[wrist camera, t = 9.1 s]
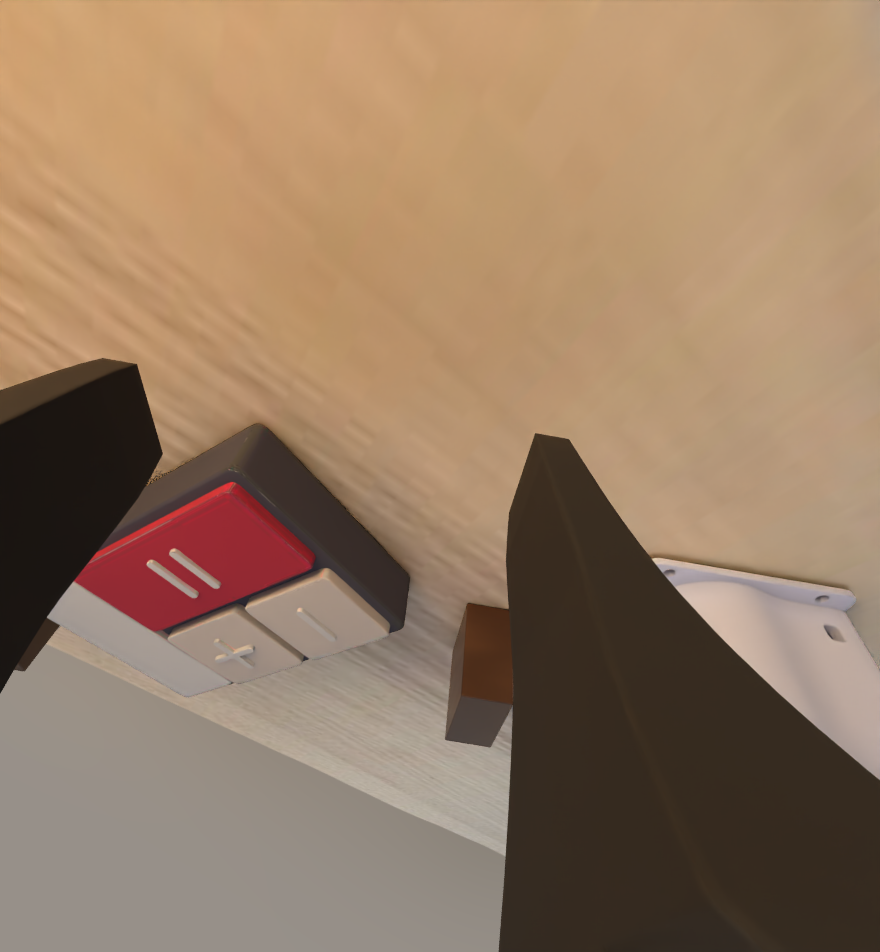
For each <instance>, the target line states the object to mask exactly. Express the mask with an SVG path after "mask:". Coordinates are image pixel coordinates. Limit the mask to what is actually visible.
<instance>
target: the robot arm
mask: <svg viewBox="0 0 880 952" xmlns="http://www.w3.org/2000/svg"><path fill="white" fill-rule="evenodd" d="M162 454H163V453H162V449H161V446H160V442H159V439H158V435H157V432H156V429H155V425H154V422H153V418H152V415H151V411H150V408H149V404H148V401H147V397H146V394H145V391H144V387H143V384H142V380H141V377H140V373H139V370H138V366H137V364H133V363H127V362H121V361H115V360H110V359H104V358H102V359H98V360H94V361H89V362H86V363H82V364H78V365H75V366H72V367H68V368H65V369H62V370H59V371H56V372H53V373H50V374H47V375H44V376H41V377H38V378H35V379H32V380H29V381H26V382H23V383H20V384H17V385H15V386H12V387H9V388H6V389H3V390H0V693H1V691H2V690H3V688H4V686H5V684H6V683H7V681H8V679H9V677H10V676H11V674H12V672H13V670H14V669H15V667H16V666H17V664H18V662H19V661H20V659H21V658H22V656H23V654H24V653H25V651H26V650H27V648H28V646H29V645H30V643H31V642H32V640H33V638H34V637H35V635H36V634H37V632H38V630H39V629H40V627H41V626H42V624H43V622H44V621H45V619H46V618H47V616H48V615H49V614H50V612H51V611H52V609H53V608H54V607H55V605H56V604H57V603H58V601H59V600H60V598H61V597H62V596H63V594H64V593H65V592H66V590H67V589H68V588H69V587H70V585H71V584H72V583H73V582H74V580H75V579H76V578H77V576H78V575H79V574H80V573H81V571H82V570H83V569H84V568H85V566H86V565H87V564H88V562H89V561H90V560H91V559H92V557H93V556H94V555H95V554H96V552H97V551H98V550H99V548H100V547H101V546H102V545H103V543H104V542H105V541H106V540H107V538H108V537H109V536H110V534H111V533H112V532H113V531H114V529H115V528H116V527H117V525H118V524H119V523H120V521H121V520H122V519H123V518H124V516H125V515H126V514H127V512H128V511H129V510H130V508H131V507H132V506H133V504H134V503H135V502H136V500H137V499H138V498H139V496H140V494H141V492H142V491H143V489H144V487H145V486H146V484H147V482H148V481H149V479H150V477H151V475H152V473H153V471H154V469H155V467H156V466H157V464H158V462H159V460H160V458H161V456H162ZM506 567H507V585H508V602H509V618H510V633H511V649H512V665H513V721H512V750H511V771H510V792H509V812H508V828H507V844H506V860H505V876H504V877H505V878H504V890H503V903H502V916H501V929H500V941H499V952H880V669H879V668H878V666H877V664H876V663H875V661H874V659H873V658H872V656H871V654H870V653H869V651H868V649H867V648H866V646H865V644H864V643H863V641H862V639H861V638H860V636H859V634H858V633H857V631H856V629H855V628H854V626H853V624H852V623H851V621H850V619H849V618H848V616H847V614H846V613H845V611H846V610H847V609H849V608H850V607H851V606H852V605H853V604H854V603H855V602H856V597H855V596H854V594H853V593H852V592H851V591H850V590H846V589H840V588H834V587H829V586H823V585H817V584H811V583H805V582H799V581H793V580H787V579H782V578H776V577H770V576H764V575H758V574H752V573H746V572H740V571H734V570H729V569H723V568H717V567H711V566H705V565H699V564H693V563H687V562H682V561H676V560H670V559H664V558H653V559H651V557H650V556H649V555H648V554H647V552H646V551H645V550H644V549H643V547H642V546H641V545H640V544H639V542H638V541H637V540H636V538H635V537H634V536H633V534H632V533H631V532H630V530H629V529H628V528H627V526H626V525H625V523H624V522H623V521H622V519H621V518H620V516H619V515H618V513H617V512H616V511H615V509H614V508H613V506H612V505H611V503H610V502H609V501H608V499H607V498H606V496H605V495H604V493H603V492H602V490H601V489H600V487H599V485H598V484H597V482H596V481H595V479H594V478H593V476H592V475H591V473H590V472H589V470H588V468H587V467H586V465H585V464H584V462H583V461H582V459H581V458H580V456H579V454H578V453H577V451H576V450H575V448H574V447H573V445H572V443H571V442H570V440H569V439H565V438H559V437H554V436H548V435H542V434H536V433H535V436H534V439H533V442H532V445H531V448H530V451H529V454H528V457H527V460H526V463H525V466H524V469H523V472H522V475H521V478H520V481H519V484H518V487H517V490H516V493H515V496H514V499H513V502H512V505H511V509H510V512H509V521H508V536H507V553H506ZM668 569H669V570H668Z"/></svg>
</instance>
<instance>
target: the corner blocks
mask: <svg viewBox="0 0 880 952" xmlns="http://www.w3.org/2000/svg"><path fill="white" fill-rule="evenodd" d="M59 626H60V625H59V624H57V623H55V622H53V621H52V620H50V619H48V618H46V619H45V621H44V622H43V624H42V626H41V627H40V629H39V630H38V632H37V634H36V635H35V637H34V638H33V640H32V642H31V643H30V645H29V646H28V648H27V650H26V651H25V653H24V654H23V656H22V658H21V659H20V661H19V662H18V664H17V666H16V667H15V669H14V670H19V671H25V670H26V669H27V668H28V666H29V665H30V664H31V662H32V661H33V660H34V659H35V657H36V656H37V655H38V653H39V652H40V651H41V649H42V648H43V647H44V645H45V644H46V643H47V642H48V640H49V639H50V638H51V636H52V635H53V634H54V632H55V631H56V630H57V629H58V627H59ZM512 705H513V665H512V649H511V633H510V618H509V610H504V609H499V608H493V607H487V606H481V605H475V604H469V603H468V604H467V606H466V610H465V613H464V616H463V620H462V623H461V626H460V630H459V633H458V636H457V639H456V643H455V646H454V649H453V654H452V666H451V677H450V689H449V700H448V712H447V723H446V735H445V740H448V741H454V742H461V743H467V744H473V745H479V746H485V747H491V745H492V744H493V742H494V740H495V738H496V736H497V734H498V732H499V730H500V728H501V726H502V725H503V723H504V721H505V719H506V717H507V715H508V713H509V711H510V709H511V707H512Z"/></svg>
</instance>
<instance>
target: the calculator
mask: <svg viewBox="0 0 880 952" xmlns="http://www.w3.org/2000/svg"><path fill="white" fill-rule="evenodd" d="M409 583H410V577H409V576H408V574H407V573H406V572H405V571H404V570H403V569H402V568H401V567H400V566H399V565H398V564H397V563H396V562H395V560H394V559H393V558H392V557H391V556H390V555H389V554H388V553H387V552H386V551H385V550H384V549H383V548H382V547H381V546H380V545H379V544H378V543H377V542H376V541H375V540H374V539H373V538H372V536H371V535H370V534H369V533H368V532H367V531H366V530H365V529H364V528H363V527H362V526H361V525H360V524H359V523H358V522H357V521H356V520H355V519H354V518H353V517H352V516H351V515H350V514H349V513H348V511H347V510H346V509H345V508H344V507H343V506H342V505H341V504H340V503H339V502H338V501H337V500H336V499H335V498H334V497H333V496H332V495H331V494H330V493H329V492H328V491H327V490H326V489H325V487H324V486H323V485H322V484H321V483H320V482H319V481H318V480H317V479H316V478H315V477H314V476H313V475H312V474H311V473H310V472H309V471H308V470H307V469H306V468H305V467H304V466H303V465H302V463H301V462H300V461H299V460H298V459H297V458H296V457H295V456H294V455H293V454H292V453H291V452H290V451H289V450H288V449H287V448H286V447H285V446H284V445H283V444H282V443H281V442H280V441H279V439H278V438H277V437H276V436H275V435H274V434H273V433H272V432H271V431H270V430H269V429H268V428H266V427H265V426H263V425H259V424H256V425H252V426H250V427H248V428H246V429H245V430H243V431H241V432H239V433H238V434H236V435H234V436H232V437H231V438H229V439H227V440H226V441H224V442H222V443H220V444H219V445H217V446H215V447H213V448H212V449H210V450H208V451H206V452H205V453H203V454H201V455H200V456H198V457H196V458H194V459H193V460H191V461H189V462H187V463H186V464H184V465H182V466H180V467H179V468H177V469H175V470H174V471H172V472H170V473H168V474H167V475H165V476H163V477H161V478H160V479H158V480H156V481H154V482H153V483H151V484H149V485H148V486H146V487H144V489H143V491H142V492H141V494H140V496H139V498H138V499H137V500H136V502H135V503H134V504H133V506H132V507H131V508H130V510H129V511H128V512H127V514H126V515H125V516H124V518H123V519H122V520H121V521H120V523H119V524H118V525H117V527H116V528H115V529H114V531H113V532H112V533H111V534H110V536H109V537H108V538H107V540H106V541H105V542H104V543H103V545H102V546H101V547H100V548H99V550H98V551H97V552H96V554H95V555H94V556H93V557H92V559H91V560H90V561H89V562H88V564H87V565H86V566H85V568H84V569H83V570H82V571H81V573H80V574H79V575H78V576H77V578H76V579H75V580H74V582H73V583H72V584H71V585H70V587H69V588H68V589H67V590H66V592H65V593H64V594H63V596H62V597H61V598H60V600H59V601H58V603H57V604H56V605H55V607H54V608H53V609H52V611H51V612H50V614H49V615H48V616H47V618H48V619H50V620H52V621H53V622H55V623H57V624H59V625H60V626H62V627H64V628H66V629H67V630H69V631H71V632H72V633H74V634H76V635H78V636H79V637H81V638H83V639H85V640H86V641H88V642H90V643H92V644H93V645H95V646H97V647H98V648H100V649H102V650H104V651H105V652H107V653H109V654H111V655H112V656H114V657H116V658H118V659H119V660H121V661H123V662H124V663H126V664H128V665H130V666H131V667H133V668H135V669H137V670H138V671H140V672H142V673H144V674H145V675H147V676H149V677H151V678H152V679H154V680H156V681H157V682H159V683H161V684H163V685H164V686H166V687H168V688H170V689H171V690H173V691H175V692H177V693H178V694H180V695H182V696H184V697H192V696H195V695H198V694H201V693H205V692H208V691H211V690H214V689H217V688H220V687H223V686H226V685H230V684H233V683H236V684H241V683H245V682H248V681H251V680H254V679H257V678H261V677H264V676H267V675H270V674H273V673H276V672H280V671H283V670H286V669H289V668H292V667H295V666H298V665H300V664H302V662H303V661H305V660H308V659H312V660H317V659H321V658H324V657H327V656H330V655H333V654H336V653H339V652H343V651H346V650H349V649H352V648H355V647H358V646H362V645H365V644H368V643H371V642H374V641H377V640H380V639H384V638H386V637H387V636H388V635H389V633H392V632H395V631H398V630H400V629H402V628H403V627H404V622H405V615H406V607H407V599H408V591H409Z"/></svg>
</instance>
